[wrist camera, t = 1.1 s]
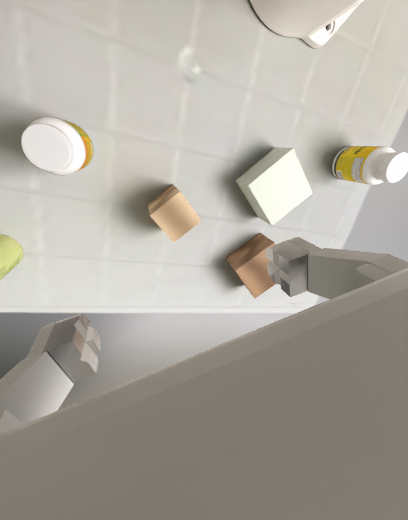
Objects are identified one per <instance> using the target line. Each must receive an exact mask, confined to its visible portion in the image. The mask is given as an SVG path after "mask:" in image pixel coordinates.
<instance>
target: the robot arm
mask: <svg viewBox="0 0 408 520" xmlns="http://www.w3.org/2000/svg"><path fill="white" fill-rule="evenodd" d="M362 1H363V0H250V2H251V4H252V6H253V8H254V10H255V12H256V13H257V15H258V16H259V18H260V19H261V20H262V21H263V23H264V24H265V25H266V26H267V27H269V28H270V29H271V30H272V31H274V32H276V33H278V34H280V35H283V36H288V37H297V38H301V39H302V40H304V41H305V42H306V43H307V44H308V45H310V46H311V47H313V48H319V47H321V46H322V45H324V44H325V43H326V42H327V41H328V40H329V39H330V38H331V36H332V35H333V34H334V33H335V32H336V31H337V29H338V28H339V27H340V26H341V25H342V24H343V22H344V21H345V20H346V19H347V18H348V17H349V15H350V14H351V13H352V12H353V11H354V10H355V9H356V7H357V6H358V5H359V4H360V3H361V2H362ZM326 26H327V30H326ZM266 257H267V258H268V259H269V262H268V264H267V269H268V273H269V275H270V278H271V279H272V280H273V281H274V282H275V283H276V284H280V285H281V289H282V290H283V291H284V292H285V293H286V294H287V295H288V296H290V297H292V296H295V295H297V294H300V293H303V292H306V291H308V292H311V293H314V294H317V295H319V296H322V297H325V298H328V299H330V300H328V301H325V302H323V303H321V304H318V305H316V306H313V307H311V308H308V309H306V310H303V311H301V312H298V313H296V314H294V315H291V316H289V317H286V318H284V319H281V320H279V321H276V322H274V323H271V324H269V325H267V326H264V327H262V328H259V329H257V330H255V331H252V332H249V333H247V334H245V335H242V336H240V337H237V338H235V339H232V340H230V341H228V342H225V343H223V344H220V345H218V346H215V347H213V348H211V349H208V350H206V351H203V352H200V353H198V354H196V355H193V356H191V357H188V358H186V359H183V360H181V361H178V362H176V363H173V364H171V365H169V366H166V367H164V368H161V369H159V370H156V371H154V372H151V373H149V374H146V375H144V376H142V377H139V378H137V379H134V380H132V381H129V382H127V383H125V384H122V385H120V386H117V387H115V388H112V389H110V390H107V391H105V392H102V393H100V394H98V395H95V396H93V397H90V398H88V399H85V400H83V401H81V402H78V403H75V404H73V405H70V406H68V407H66V408H63V409H61V410H58V408H59V407H60V405H61V404H62V402H63V400H64V399H65V397H66V396H67V394H68V393H69V391H70V390H71V388H72V386H73V385H74V384H73V383H76V382H78V381H80V380H83V379H85V378H87V377H90V376H92V375H94V374H96V373H97V366H98V360H99V359H98V358H97V356H96V355H97V354H98V352H99V351H100V345H101V344H100V338H99V335H98V333H97V331H96V330H95V329H94V328H92V327H90V326H89V322H90V320H89V319H88V318H87V316H86V315H85V314H80V315H77V316H74V317H71V318H68V319H65V320H62V321H59V322H55V323H53V324H50V325H47V326H45V327H43V328H41V330H40V332H39V334H38V336H37V338H36V340H35V342H34V344H33V346H32V348H31V350H30V352H29V354H28V356H27V358H26V359H24V360H22V361H20V362H19V363H18V364H17V365H16V366H15V367H14V368H13V369H12V370H11V371H9V372H8V373H7V374H6V375H5V376H4V377H3V378H2V379H1V380H0V520H408V262H406V261H403V260H401V259H399V258H396V257H394V256H392V255H389V254H380V253H370V252H360V251H349V250H339V249H329V248H324V249H320V248H319V247H317V246H315V245H313V244H311V243H309V242H307V241H305V240H303V239H301V238H300V237H294V238H292V239H289V240H287V241H284V242H282V243H279V244H277V245H274V246H271V247H269V248H266ZM57 410H58V411H57Z"/></svg>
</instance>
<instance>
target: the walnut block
mask: <svg viewBox="0 0 408 520" xmlns="http://www.w3.org/2000/svg"><path fill="white" fill-rule="evenodd" d="M274 245H275V243H274V242H273V241H271V240H270V239H268V238H267V237H266V236H264V235H263V234H261V233H260V234H258V235H257V236H256V237H254V238H253V239H251V240H250V241H249V242H247V243H246V244H245V245H243V246H242V247H240V248H239V249H238V250H236V251H235V252H234V253H232V254H231V255H229V256H228V257H227V258H226V260H227V261H228V262H229V264H230V265H231V267H232V268H233V270H234V271H235V272H236V274H237V275H238V277H239V278H240V279H241V281H242V282H243V284H244V285H245V286H246V288H247V289H248V290H249V291H250V293H251V294H252V295H253V297H254V298H256V297H258V296H259V295H261V294H262V293H263V292H265V291H266V290H268V289H269V288H270V287H272V286H273V285H275V284H276V283H275V282H274V281H273V280H272V279H271V278H270V275H269V273H268V269H267V264H268V262H269V259H268V258H267V257H266V248H269V247H271V246H274Z"/></svg>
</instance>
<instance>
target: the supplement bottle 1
mask: <svg viewBox="0 0 408 520" xmlns="http://www.w3.org/2000/svg"><path fill="white" fill-rule="evenodd" d="M21 145H22V149H23V152H24V154H25V155H26V157H27V158H28V159H29V160H30V161H31V162H32V163H33V164H34V165H35V166H37V167H39V168H41V169H43V170H45V171H47V172H49V173H52V174H55V175H68V174H72V173H75V172H77V171H78V170H80V169H82V168H84V167H86V166H87V165H88V164H89V163H90V162H91V161H92V158H93V155H94V147H93V143H92V141H91V139H90V137H89V135H88V134H87V133H86V132H85V131H84V130H83V129H82V128H80V127H79V126H77V125H75V124H73V123H70V122H67V121H64V120H61V119H58V118H53V117H41V118H38V119H36V120H34V121H32V122H31V123H30V124H29V125H28V127H27V128H26V129H25V130H24V132H23V134H22V137H21Z"/></svg>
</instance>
